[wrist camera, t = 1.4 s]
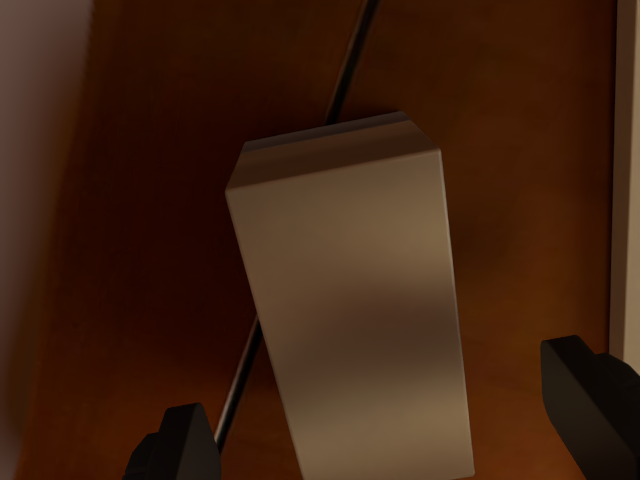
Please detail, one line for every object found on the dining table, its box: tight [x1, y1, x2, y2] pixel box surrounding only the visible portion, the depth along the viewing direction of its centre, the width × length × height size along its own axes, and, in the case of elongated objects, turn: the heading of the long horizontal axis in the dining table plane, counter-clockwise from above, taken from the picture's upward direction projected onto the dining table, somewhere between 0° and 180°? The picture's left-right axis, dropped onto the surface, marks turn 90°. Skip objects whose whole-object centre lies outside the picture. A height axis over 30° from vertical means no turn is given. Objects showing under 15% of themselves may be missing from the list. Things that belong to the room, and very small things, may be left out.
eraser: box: [225, 111, 475, 480], centre depth 16 cm, size 10×5×5 cm, turn 11°
